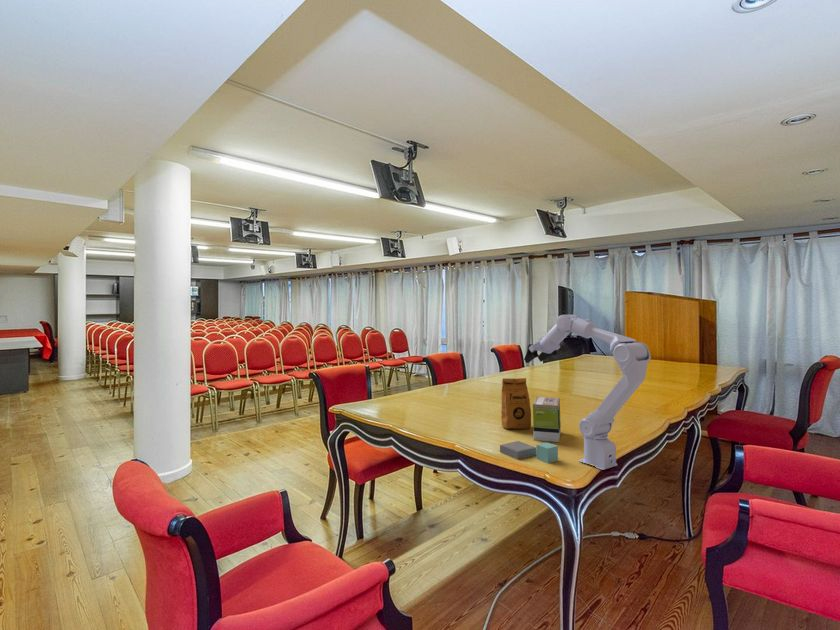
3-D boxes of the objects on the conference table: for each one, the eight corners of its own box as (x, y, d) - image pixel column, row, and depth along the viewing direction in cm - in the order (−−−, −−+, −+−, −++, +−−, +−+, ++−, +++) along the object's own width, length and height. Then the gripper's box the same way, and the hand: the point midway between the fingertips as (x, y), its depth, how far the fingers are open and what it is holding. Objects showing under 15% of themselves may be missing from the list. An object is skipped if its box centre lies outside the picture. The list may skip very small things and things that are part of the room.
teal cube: (557, 460, 140) (557, 446, 140) (547, 463, 138) (547, 448, 138) (546, 456, 145) (546, 442, 145) (536, 458, 142) (536, 444, 142)
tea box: (536, 430, 177) (536, 395, 177) (561, 432, 173) (560, 397, 173) (532, 440, 163) (532, 403, 163) (559, 442, 159) (559, 404, 159)
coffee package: (533, 430, 176) (532, 379, 176) (504, 430, 176) (503, 379, 176) (527, 424, 186) (527, 376, 186) (500, 424, 186) (499, 376, 186)
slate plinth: (536, 454, 146) (536, 447, 146) (517, 459, 142) (517, 451, 142) (518, 447, 154) (518, 440, 154) (500, 451, 149) (499, 444, 149)
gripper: (560, 329, 158) (540, 351, 167) (533, 331, 151) (514, 353, 159) (570, 344, 154) (549, 365, 163) (543, 346, 147) (523, 368, 155)
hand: (532, 360), depth 161 cm, fingers open, 7 cm apart
